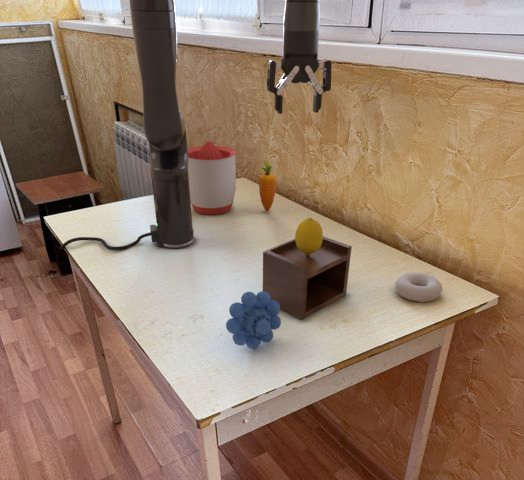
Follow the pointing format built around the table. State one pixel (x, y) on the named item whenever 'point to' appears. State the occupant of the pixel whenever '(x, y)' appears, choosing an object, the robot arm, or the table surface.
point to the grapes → (253, 319)
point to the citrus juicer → (211, 178)
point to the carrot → (267, 187)
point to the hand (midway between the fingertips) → (297, 112)
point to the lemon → (309, 236)
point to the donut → (418, 287)
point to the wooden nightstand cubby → (306, 276)
